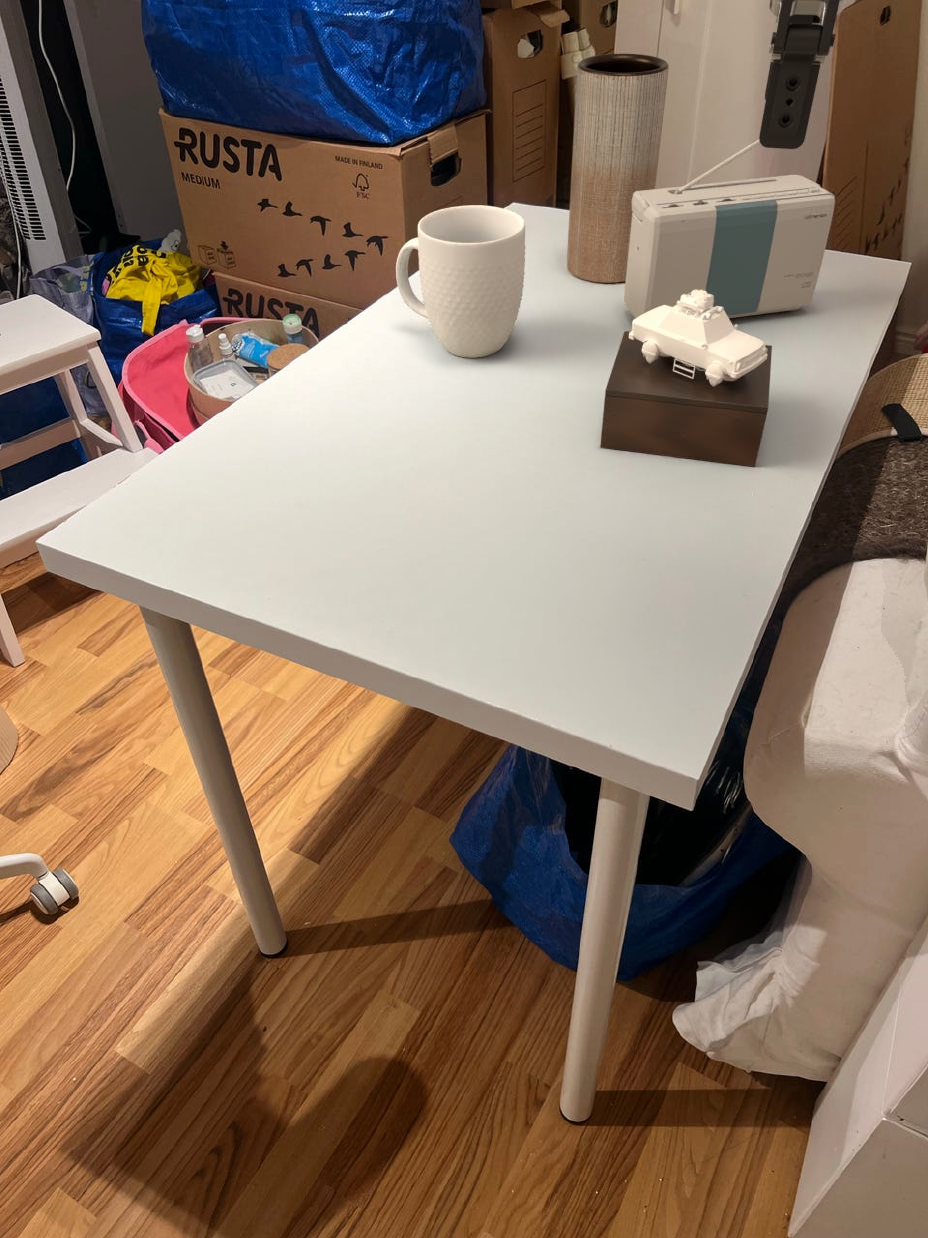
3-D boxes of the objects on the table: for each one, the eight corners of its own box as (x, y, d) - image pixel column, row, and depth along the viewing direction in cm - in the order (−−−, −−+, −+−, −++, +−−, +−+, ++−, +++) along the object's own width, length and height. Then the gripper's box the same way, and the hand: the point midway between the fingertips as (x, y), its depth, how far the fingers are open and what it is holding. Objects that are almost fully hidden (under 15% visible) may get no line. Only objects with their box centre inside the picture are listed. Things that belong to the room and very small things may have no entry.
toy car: (730, 400, 79) (745, 325, 74) (620, 356, 85) (627, 285, 81) (767, 376, 82) (784, 302, 78) (658, 335, 88) (667, 265, 84)
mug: (375, 346, 101) (364, 225, 92) (427, 309, 108) (421, 193, 99) (493, 376, 96) (493, 250, 87) (540, 334, 103) (544, 214, 94)
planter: (557, 256, 119) (567, 55, 104) (631, 250, 120) (652, 50, 105) (578, 287, 112) (591, 76, 96) (656, 280, 113) (682, 69, 98)
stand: (759, 401, 91) (772, 345, 87) (754, 467, 82) (768, 407, 78) (618, 386, 94) (624, 330, 89) (600, 447, 85) (605, 389, 81)
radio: (641, 338, 101) (664, 141, 88) (615, 307, 107) (632, 119, 94) (812, 315, 105) (860, 122, 91) (778, 287, 111) (817, 102, 97)
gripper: (983, -319, 33) (860, 168, 44) (942, -298, 43) (850, 94, 54) (766, -308, 34) (699, 159, 45) (775, -290, 44) (719, 88, 55)
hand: (781, 123), depth 49 cm, fingers open, 8 cm apart
